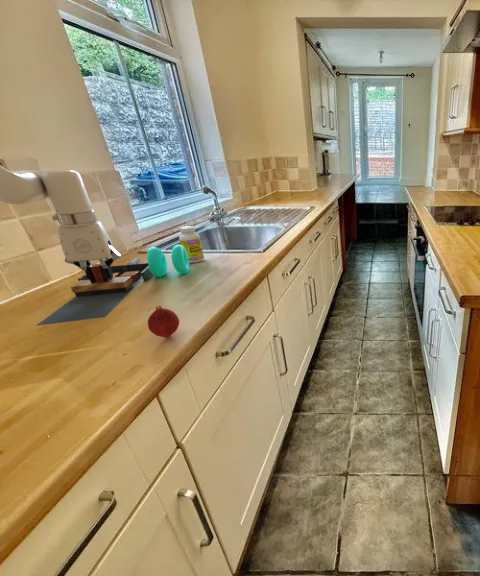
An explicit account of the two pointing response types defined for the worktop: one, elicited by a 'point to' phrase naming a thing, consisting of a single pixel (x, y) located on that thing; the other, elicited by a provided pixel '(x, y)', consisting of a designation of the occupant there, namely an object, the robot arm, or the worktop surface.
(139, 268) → the dustpan
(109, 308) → the mat
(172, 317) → the onion
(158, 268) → the donuts
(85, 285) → the wooden board with knob
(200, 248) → the supplement bottle
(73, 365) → the worktop surface
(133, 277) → the clod
